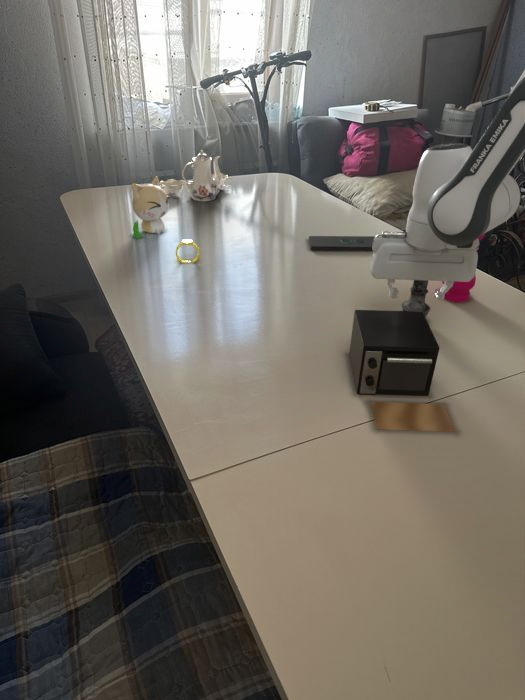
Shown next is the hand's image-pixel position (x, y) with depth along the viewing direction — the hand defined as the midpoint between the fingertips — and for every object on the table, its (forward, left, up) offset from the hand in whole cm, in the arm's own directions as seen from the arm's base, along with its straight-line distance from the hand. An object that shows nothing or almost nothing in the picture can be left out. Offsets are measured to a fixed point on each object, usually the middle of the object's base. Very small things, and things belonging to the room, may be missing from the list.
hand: (415, 298), depth 105 cm
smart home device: (+10, -42, -6) cm, 44 cm away
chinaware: (+57, -87, -6) cm, 104 cm away
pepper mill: (-12, -12, -6) cm, 18 cm away
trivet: (+7, +31, -6) cm, 33 cm away
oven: (+9, +20, -6) cm, 22 cm away
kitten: (+66, -50, -6) cm, 83 cm away
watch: (+52, -28, -6) cm, 59 cm away
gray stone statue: (0, 0, -6) cm, 6 cm away
